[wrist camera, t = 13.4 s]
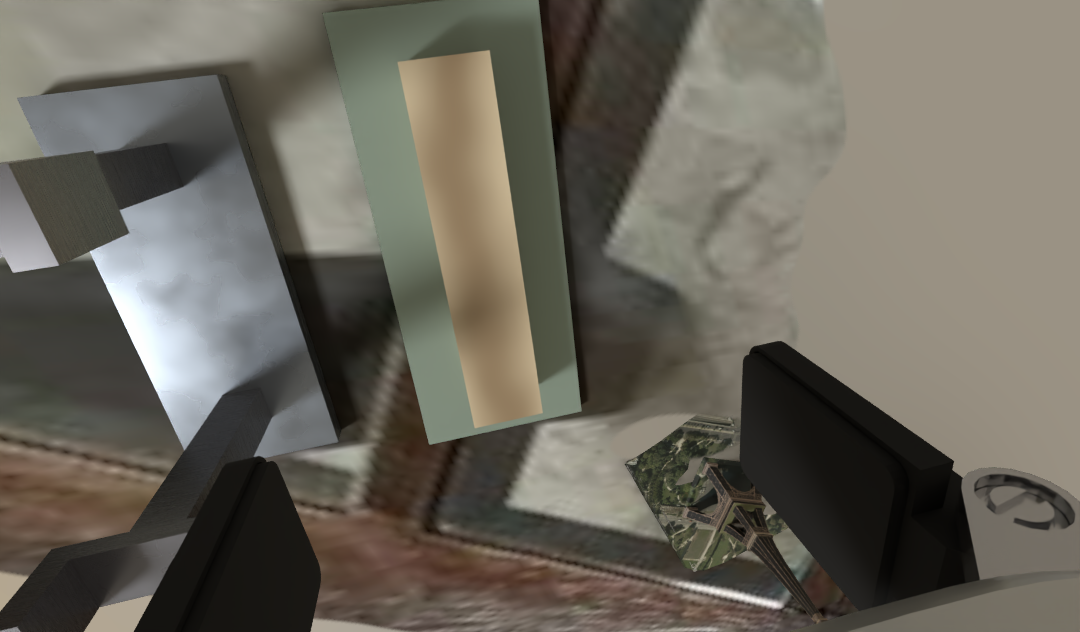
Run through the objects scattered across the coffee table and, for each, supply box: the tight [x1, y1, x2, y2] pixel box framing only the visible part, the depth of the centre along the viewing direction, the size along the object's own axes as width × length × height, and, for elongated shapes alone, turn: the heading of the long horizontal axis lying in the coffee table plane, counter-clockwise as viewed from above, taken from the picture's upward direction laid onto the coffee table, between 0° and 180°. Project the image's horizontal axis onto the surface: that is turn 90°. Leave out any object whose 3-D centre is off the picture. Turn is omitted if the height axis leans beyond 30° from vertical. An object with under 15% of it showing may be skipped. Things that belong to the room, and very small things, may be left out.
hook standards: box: [0, 75, 341, 632], centre depth 21 cm, size 8×20×15 cm, turn 7°
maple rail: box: [398, 50, 543, 428], centre depth 28 cm, size 4×19×3 cm, turn 7°
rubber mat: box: [322, 0, 581, 445], centre depth 30 cm, size 10×24×1 cm, turn 7°
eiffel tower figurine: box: [625, 415, 828, 624], centre depth 35 cm, size 15×10×13 cm
